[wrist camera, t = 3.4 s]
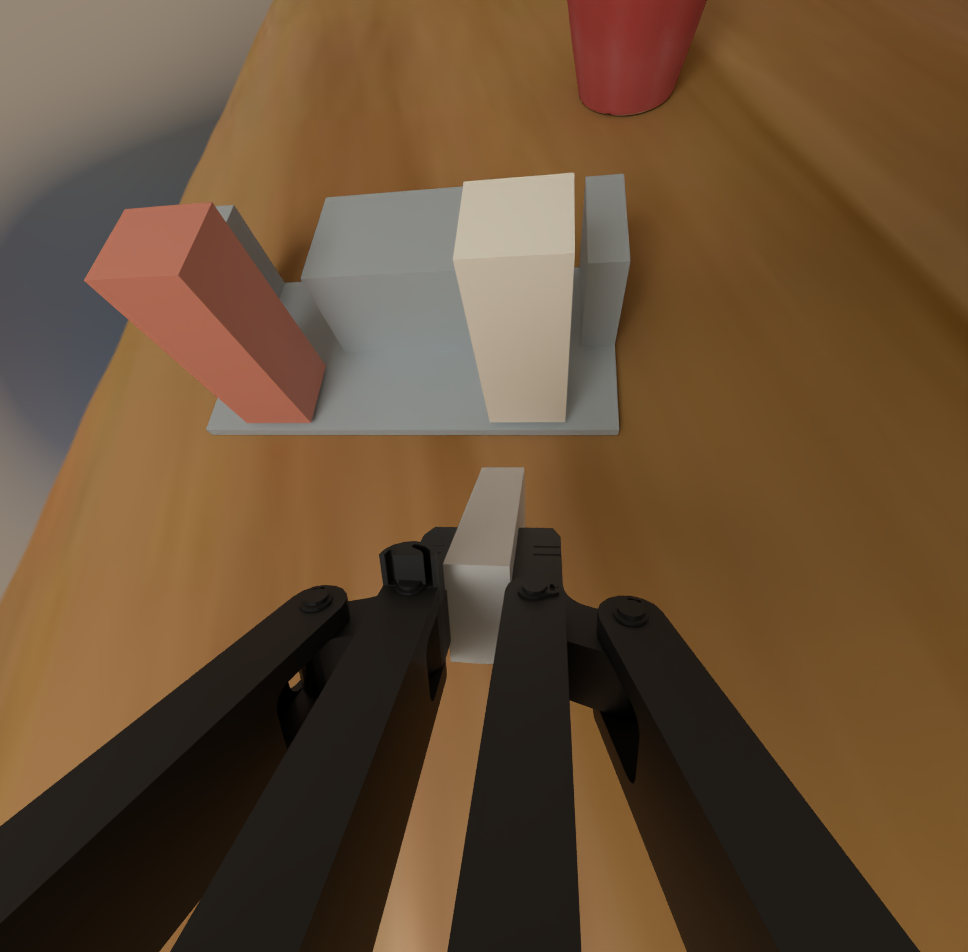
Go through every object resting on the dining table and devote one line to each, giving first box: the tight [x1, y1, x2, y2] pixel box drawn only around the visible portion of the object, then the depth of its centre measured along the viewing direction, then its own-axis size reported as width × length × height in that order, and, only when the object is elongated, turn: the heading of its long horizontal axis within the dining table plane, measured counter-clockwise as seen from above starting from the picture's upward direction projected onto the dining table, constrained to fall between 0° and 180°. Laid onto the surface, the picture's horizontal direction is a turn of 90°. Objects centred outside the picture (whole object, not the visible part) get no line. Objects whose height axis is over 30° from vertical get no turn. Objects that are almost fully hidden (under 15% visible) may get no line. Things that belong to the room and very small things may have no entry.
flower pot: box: [567, 0, 707, 116], centre depth 35 cm, size 11×11×10 cm
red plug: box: [84, 202, 326, 423], centre depth 24 cm, size 4×4×11 cm
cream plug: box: [453, 173, 575, 422], centre depth 22 cm, size 4×4×11 cm
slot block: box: [206, 174, 630, 435], centre depth 27 cm, size 25×12×7 cm, turn 86°
